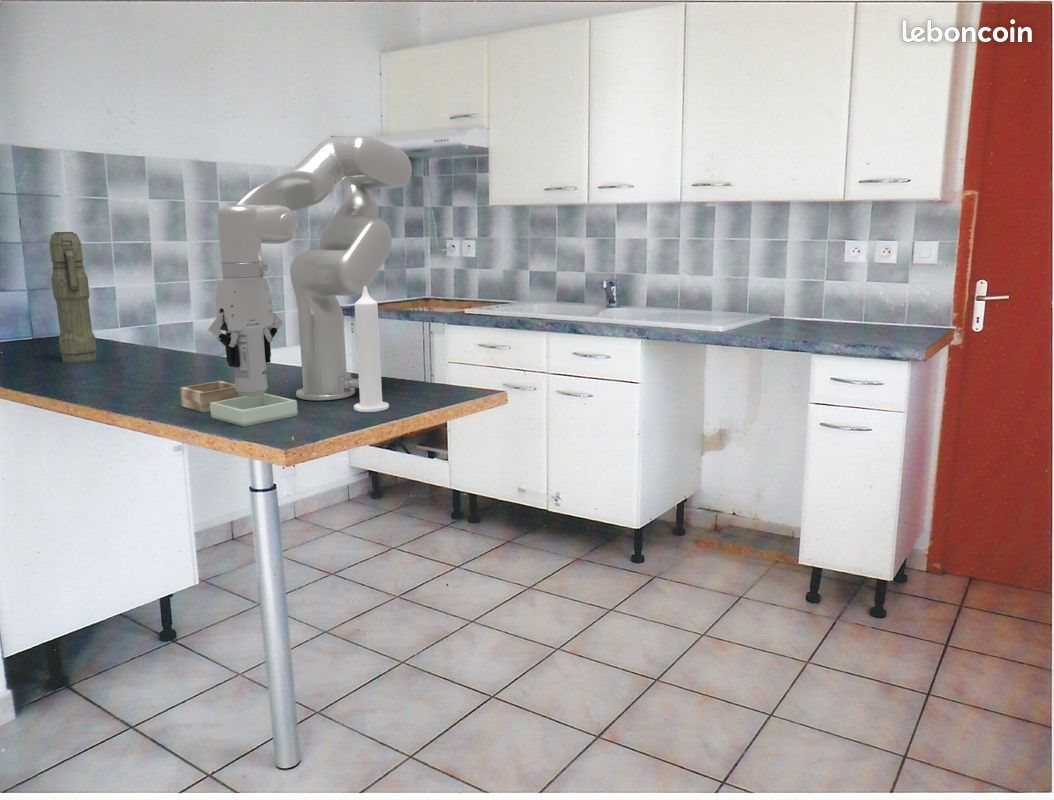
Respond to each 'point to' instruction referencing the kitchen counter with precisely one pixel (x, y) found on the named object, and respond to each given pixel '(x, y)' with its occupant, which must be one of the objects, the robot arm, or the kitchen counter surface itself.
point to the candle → (368, 355)
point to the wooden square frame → (206, 395)
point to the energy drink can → (251, 361)
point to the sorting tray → (253, 409)
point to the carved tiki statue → (72, 299)
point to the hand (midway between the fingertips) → (249, 363)
